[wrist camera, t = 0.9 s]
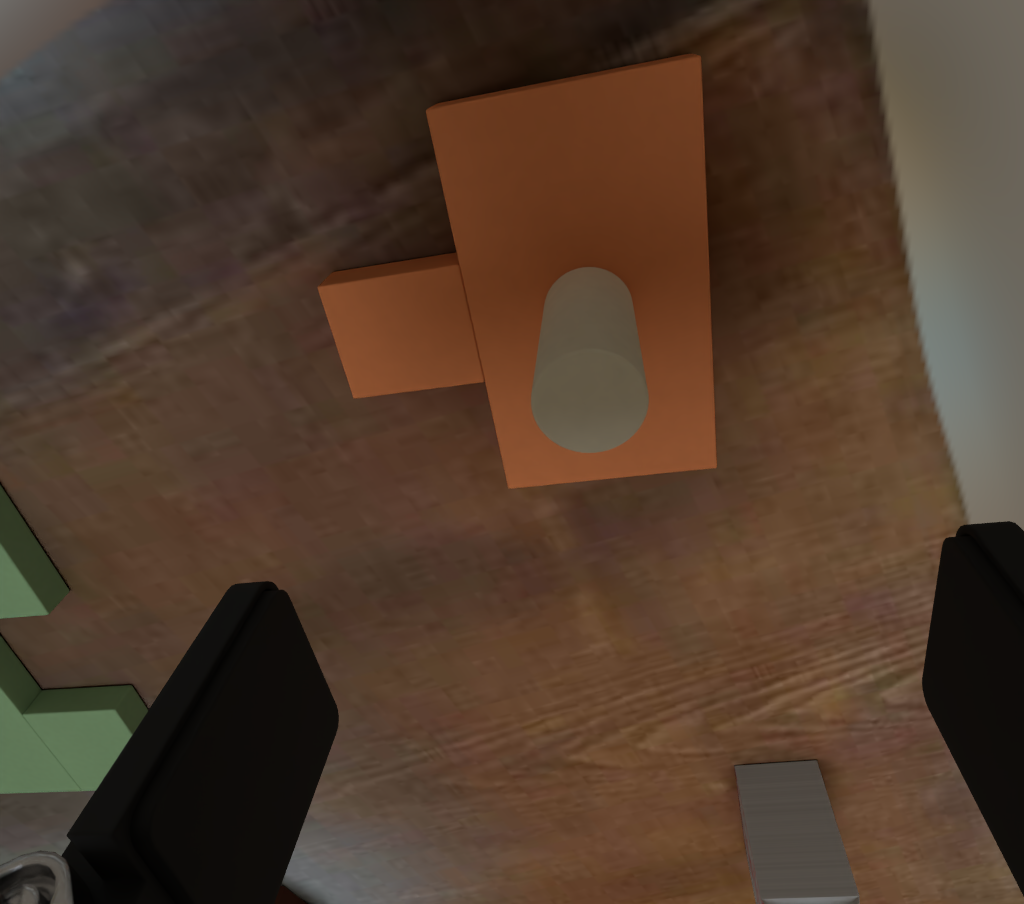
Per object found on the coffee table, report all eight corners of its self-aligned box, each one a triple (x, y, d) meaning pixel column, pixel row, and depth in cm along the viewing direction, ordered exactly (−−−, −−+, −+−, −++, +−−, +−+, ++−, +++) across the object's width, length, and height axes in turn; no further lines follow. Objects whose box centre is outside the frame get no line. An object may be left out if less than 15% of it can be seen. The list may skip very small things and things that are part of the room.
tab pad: (288, 132, 20) (151, 183, 14) (693, 52, 18) (751, 69, 12) (396, 478, 26) (336, 624, 20) (710, 445, 24) (754, 595, 18)
